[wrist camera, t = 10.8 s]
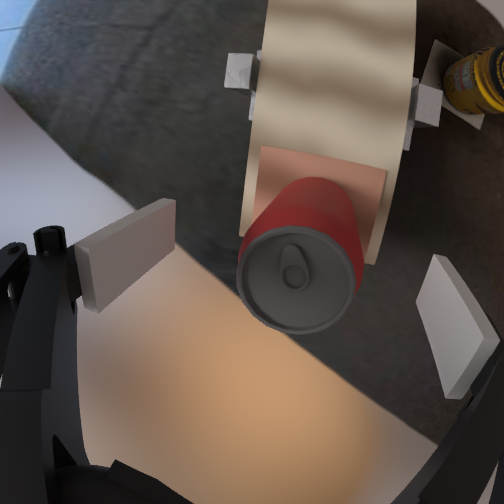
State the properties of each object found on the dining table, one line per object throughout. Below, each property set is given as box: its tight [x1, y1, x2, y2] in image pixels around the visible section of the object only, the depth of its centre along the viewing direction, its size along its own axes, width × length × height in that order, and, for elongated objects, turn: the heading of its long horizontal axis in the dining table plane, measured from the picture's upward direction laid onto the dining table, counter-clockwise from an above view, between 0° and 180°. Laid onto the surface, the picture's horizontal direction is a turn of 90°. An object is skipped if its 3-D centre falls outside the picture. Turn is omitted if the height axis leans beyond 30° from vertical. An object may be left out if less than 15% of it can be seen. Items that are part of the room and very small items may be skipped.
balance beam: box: [239, 0, 416, 265], centre depth 21 cm, size 28×12×2 cm, turn 173°
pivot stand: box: [224, 50, 443, 151], centre depth 24 cm, size 8×17×10 cm, turn 83°
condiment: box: [420, 39, 504, 130], centre depth 18 cm, size 7×8×12 cm
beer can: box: [236, 177, 364, 335], centre depth 19 cm, size 7×7×12 cm
